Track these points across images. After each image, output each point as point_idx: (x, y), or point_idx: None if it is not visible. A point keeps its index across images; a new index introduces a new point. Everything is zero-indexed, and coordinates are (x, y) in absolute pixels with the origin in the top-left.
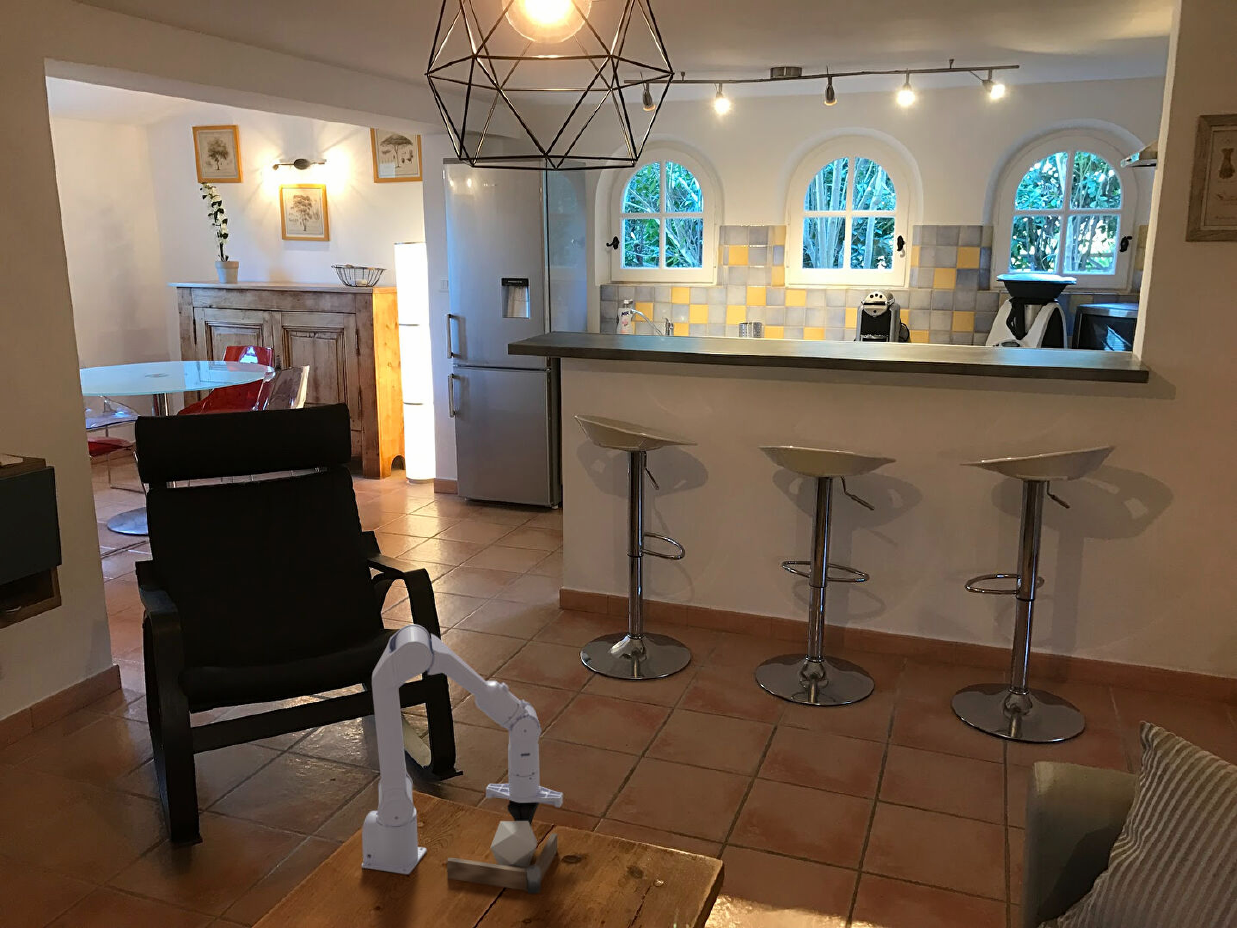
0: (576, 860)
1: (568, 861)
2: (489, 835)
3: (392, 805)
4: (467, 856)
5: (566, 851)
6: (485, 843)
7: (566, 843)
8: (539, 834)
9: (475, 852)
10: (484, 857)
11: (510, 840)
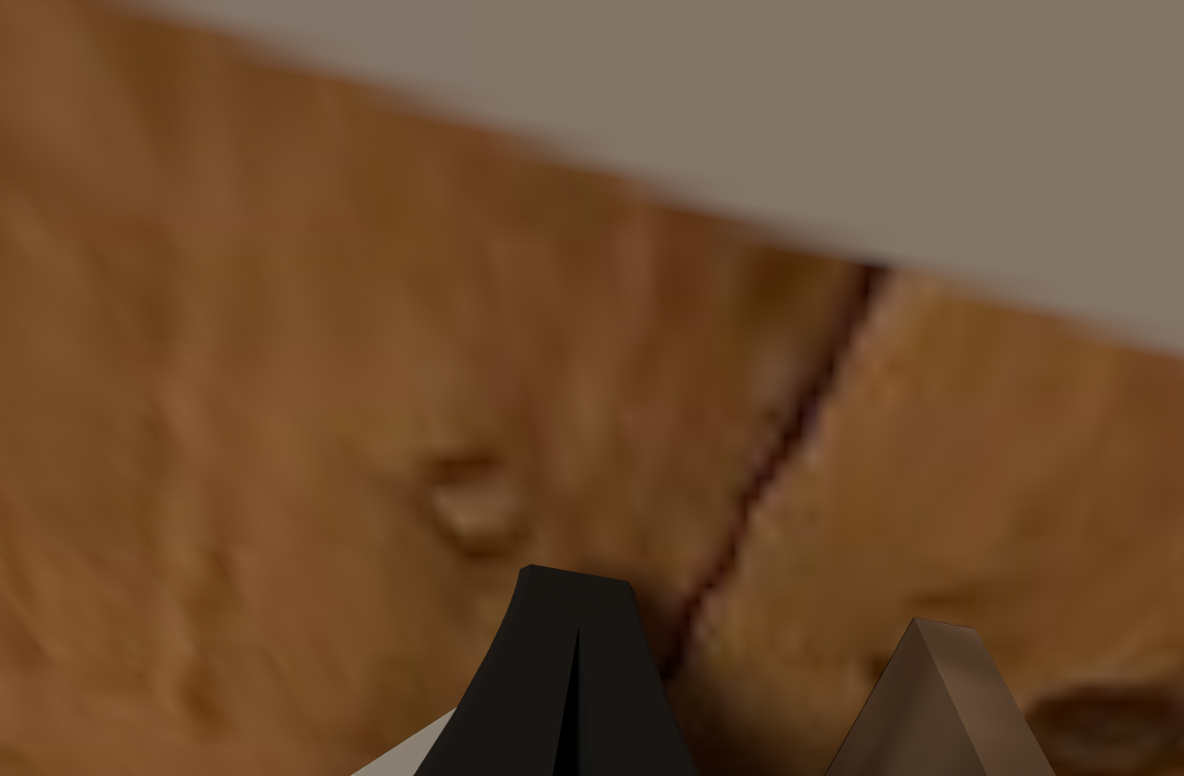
0: (1156, 757)
1: (1065, 769)
2: (26, 348)
3: None
4: (9, 706)
5: (1083, 637)
6: (71, 513)
7: (1125, 500)
8: (754, 305)
9: (51, 654)
10: (187, 718)
11: None
